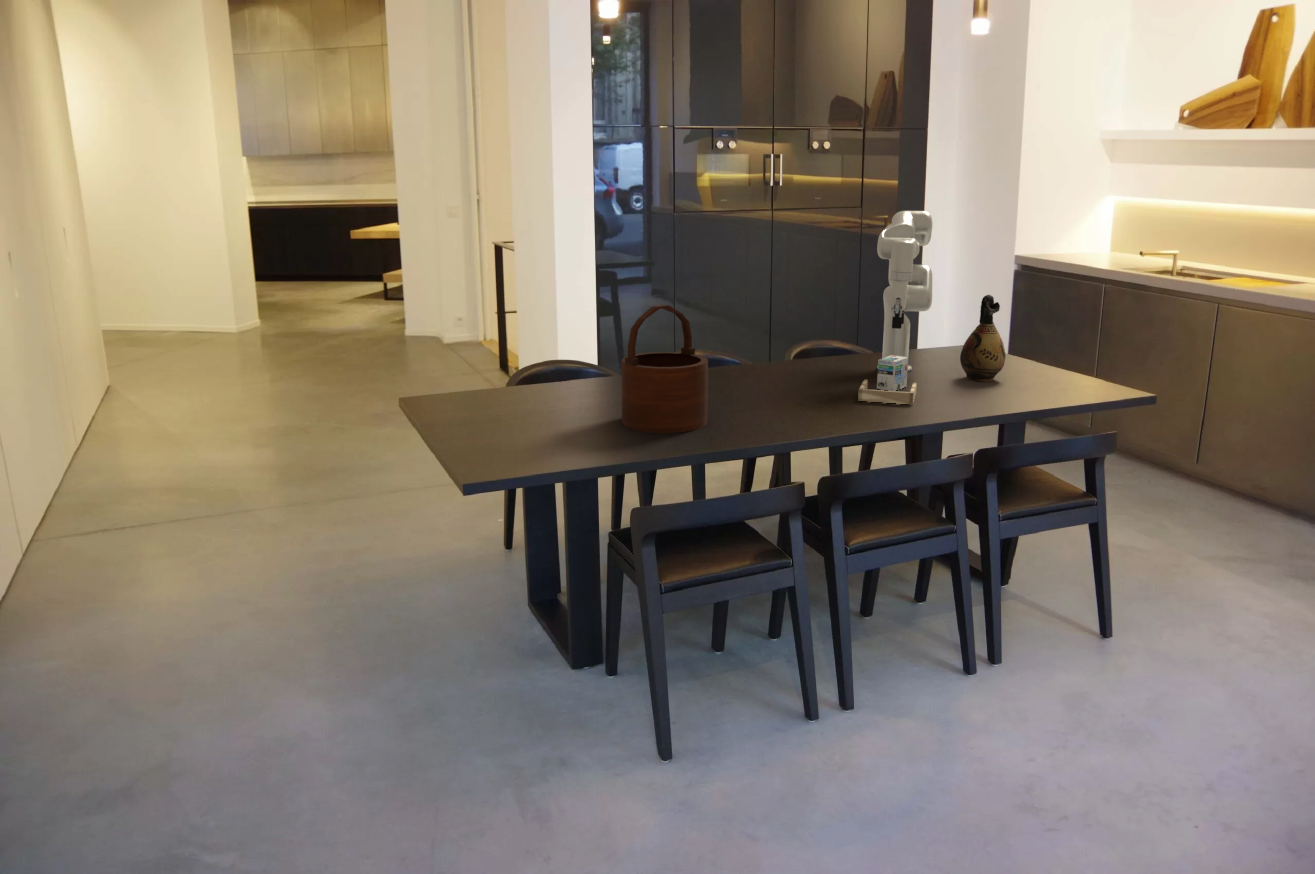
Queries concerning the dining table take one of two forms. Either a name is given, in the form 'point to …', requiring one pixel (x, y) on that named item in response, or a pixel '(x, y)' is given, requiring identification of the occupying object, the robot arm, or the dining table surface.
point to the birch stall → (886, 395)
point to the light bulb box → (892, 373)
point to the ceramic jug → (984, 346)
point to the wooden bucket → (664, 385)
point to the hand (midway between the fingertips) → (897, 326)
